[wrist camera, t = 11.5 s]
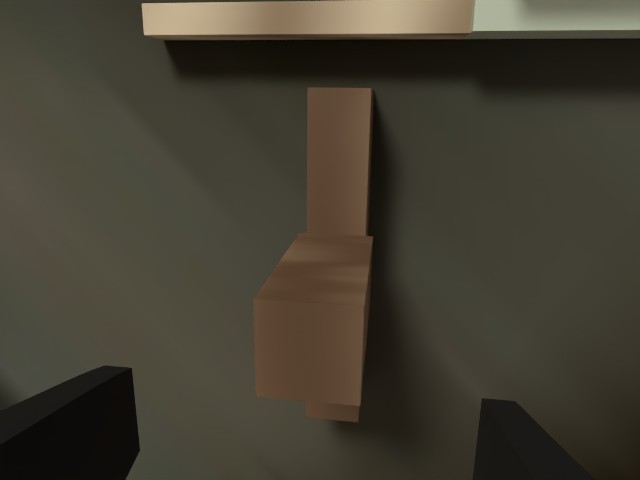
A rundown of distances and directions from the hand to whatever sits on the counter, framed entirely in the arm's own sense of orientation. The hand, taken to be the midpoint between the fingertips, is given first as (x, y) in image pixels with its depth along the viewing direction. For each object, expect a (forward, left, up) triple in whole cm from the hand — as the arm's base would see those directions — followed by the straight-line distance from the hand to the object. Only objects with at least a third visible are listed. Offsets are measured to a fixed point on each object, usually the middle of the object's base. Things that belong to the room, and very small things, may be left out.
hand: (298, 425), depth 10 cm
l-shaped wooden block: (0, -1, -11) cm, 11 cm away
